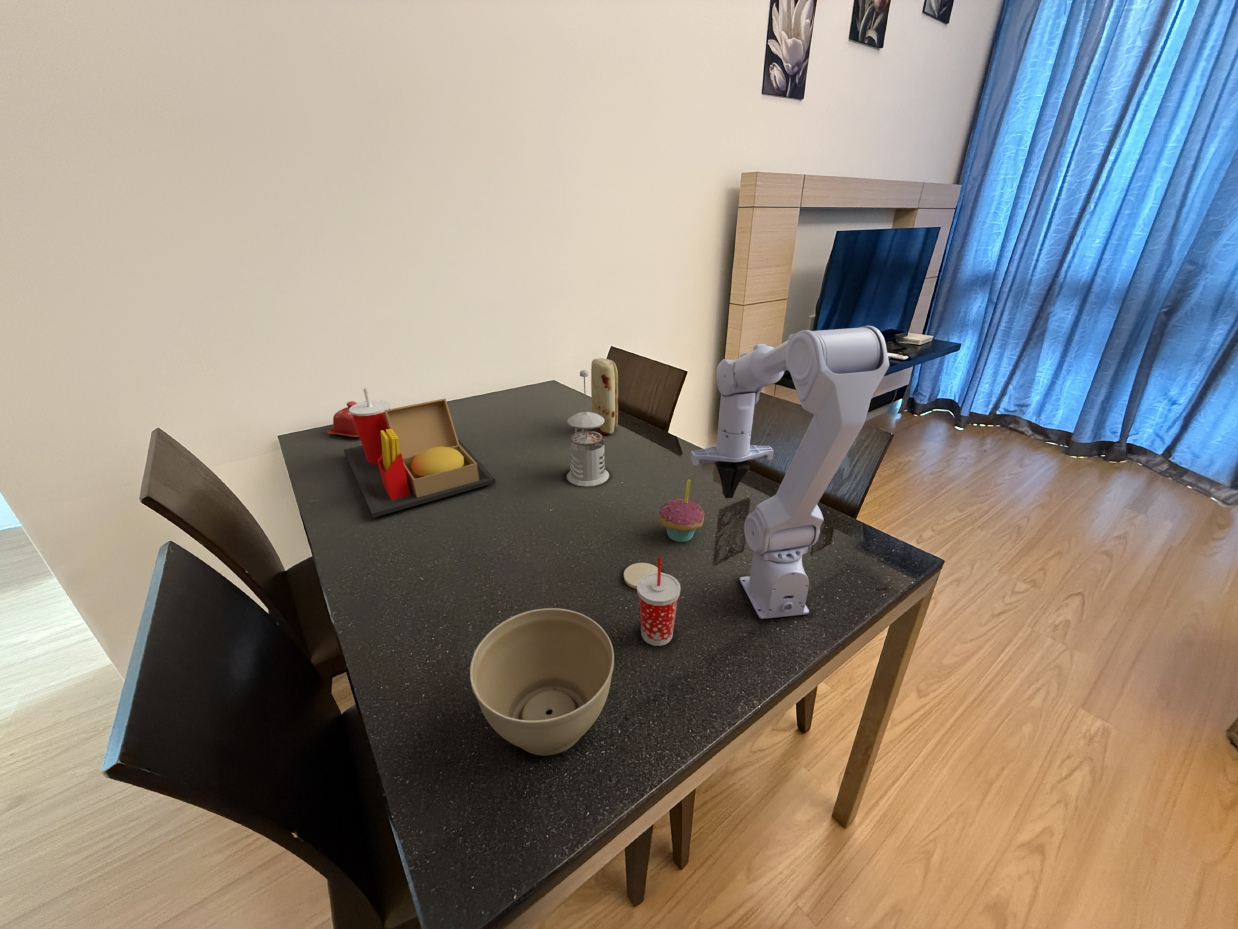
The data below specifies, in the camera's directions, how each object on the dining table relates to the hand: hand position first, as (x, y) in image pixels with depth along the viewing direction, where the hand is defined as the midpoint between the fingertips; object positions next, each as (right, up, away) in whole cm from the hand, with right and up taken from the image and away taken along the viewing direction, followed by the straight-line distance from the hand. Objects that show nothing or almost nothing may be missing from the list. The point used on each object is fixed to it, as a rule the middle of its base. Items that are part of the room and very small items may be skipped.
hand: (727, 495), depth 97 cm
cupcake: (-8, -8, +3) cm, 12 cm away
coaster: (-16, -13, -8) cm, 22 cm away
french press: (-27, +3, +25) cm, 37 cm away
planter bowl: (-29, -26, -32) cm, 50 cm away
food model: (-24, +15, +47) cm, 54 cm away
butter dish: (-92, +15, +47) cm, 104 cm away
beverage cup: (-15, -19, -20) cm, 31 cm away
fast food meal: (-68, +4, +26) cm, 73 cm away
